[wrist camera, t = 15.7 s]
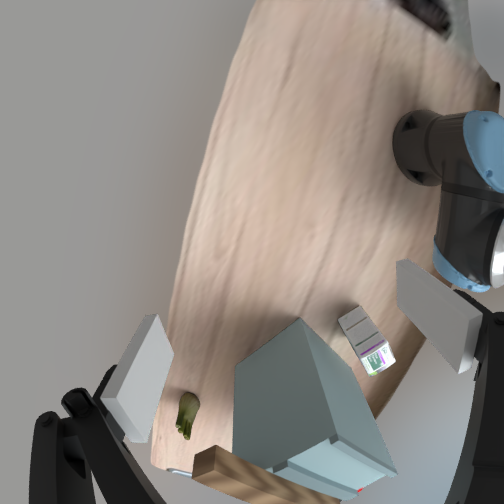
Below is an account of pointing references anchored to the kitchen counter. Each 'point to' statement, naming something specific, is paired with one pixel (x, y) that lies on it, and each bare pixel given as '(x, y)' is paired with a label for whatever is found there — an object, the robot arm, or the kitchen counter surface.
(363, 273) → the kitchen counter surface
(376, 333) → the syrup box
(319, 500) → the walnut slat
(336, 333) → the kitchen counter surface
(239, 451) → the grey-blue storage bin
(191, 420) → the fennel bulb
